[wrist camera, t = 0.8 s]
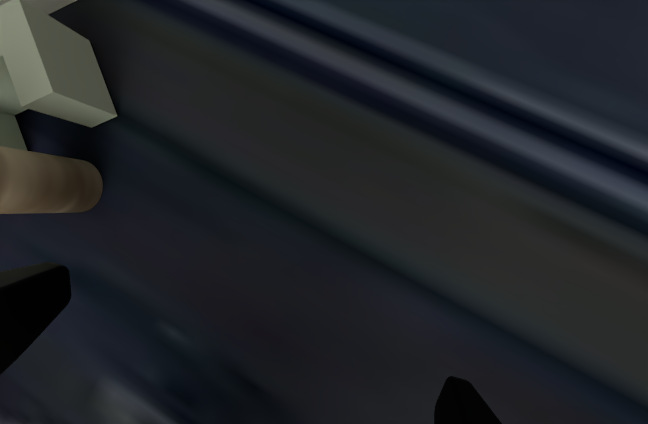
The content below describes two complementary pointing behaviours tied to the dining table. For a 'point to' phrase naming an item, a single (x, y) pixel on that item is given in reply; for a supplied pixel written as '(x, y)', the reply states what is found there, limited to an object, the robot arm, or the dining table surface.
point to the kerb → (45, 4)
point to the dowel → (46, 183)
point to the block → (46, 72)
